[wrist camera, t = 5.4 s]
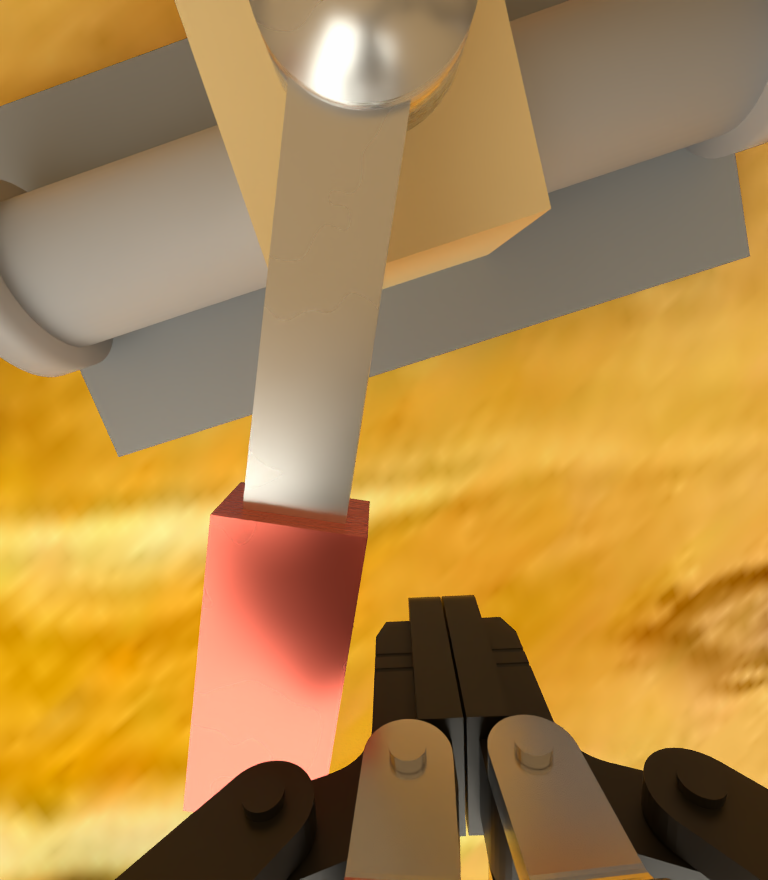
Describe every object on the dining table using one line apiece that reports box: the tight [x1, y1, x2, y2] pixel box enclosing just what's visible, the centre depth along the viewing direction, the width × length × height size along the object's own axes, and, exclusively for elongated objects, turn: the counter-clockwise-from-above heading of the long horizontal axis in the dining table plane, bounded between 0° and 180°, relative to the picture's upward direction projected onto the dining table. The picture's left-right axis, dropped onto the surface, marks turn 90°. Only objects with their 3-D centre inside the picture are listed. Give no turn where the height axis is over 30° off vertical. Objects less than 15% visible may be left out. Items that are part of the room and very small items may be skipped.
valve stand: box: [0, 0, 768, 457], centre depth 13 cm, size 24×12×10 cm, turn 108°
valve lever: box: [183, 0, 478, 812], centre depth 9 cm, size 16×3×2 cm, turn 171°
